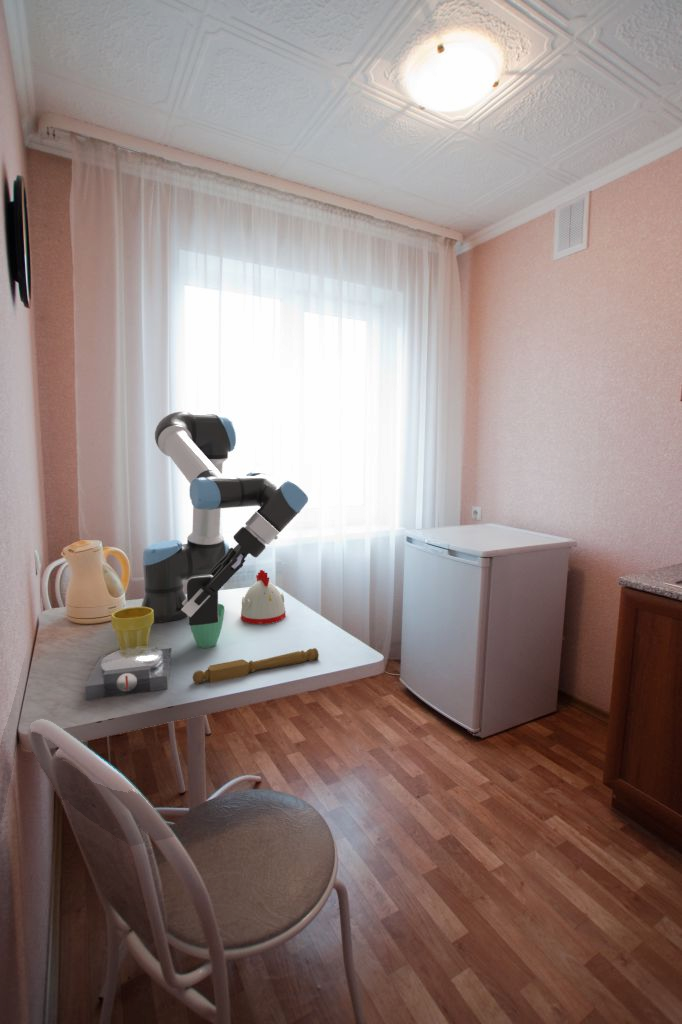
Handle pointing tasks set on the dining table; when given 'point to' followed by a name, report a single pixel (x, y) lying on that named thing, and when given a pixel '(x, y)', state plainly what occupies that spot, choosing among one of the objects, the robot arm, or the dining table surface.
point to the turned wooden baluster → (251, 666)
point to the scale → (130, 672)
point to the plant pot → (132, 626)
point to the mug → (208, 631)
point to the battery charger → (208, 608)
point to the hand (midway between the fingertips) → (186, 609)
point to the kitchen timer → (262, 602)
